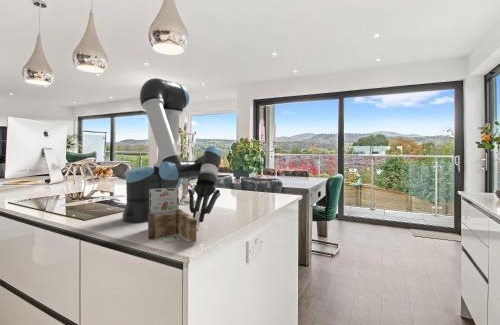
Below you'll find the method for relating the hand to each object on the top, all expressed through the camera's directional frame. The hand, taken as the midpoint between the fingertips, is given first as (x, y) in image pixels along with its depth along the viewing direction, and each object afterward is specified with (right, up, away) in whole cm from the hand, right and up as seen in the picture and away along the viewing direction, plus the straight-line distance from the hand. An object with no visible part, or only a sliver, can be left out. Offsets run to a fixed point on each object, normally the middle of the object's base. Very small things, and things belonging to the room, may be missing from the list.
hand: (195, 229), depth 99 cm
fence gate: (-3, -3, +1) cm, 5 cm away
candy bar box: (-16, -3, +15) cm, 22 cm away
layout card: (-9, -4, +1) cm, 10 cm away
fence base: (-12, -4, +5) cm, 14 cm away
